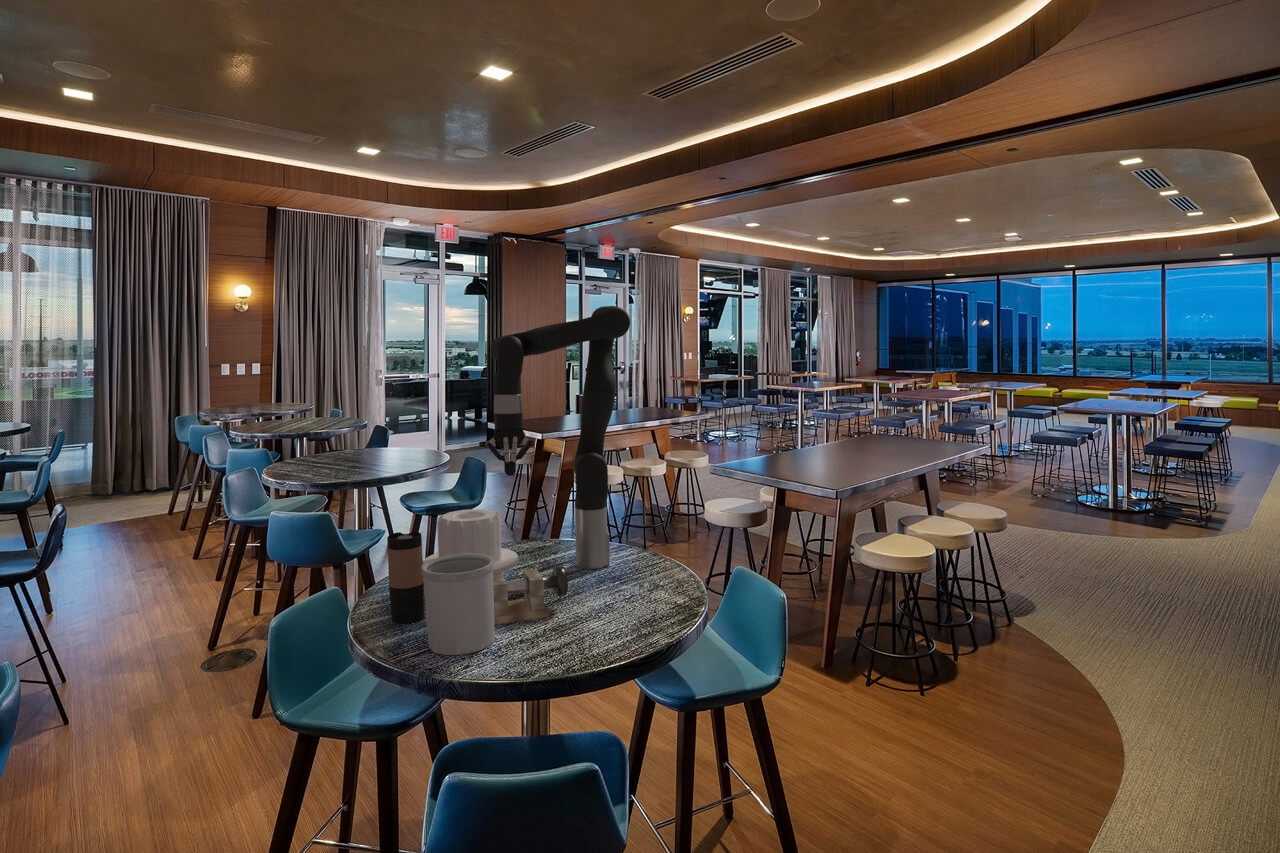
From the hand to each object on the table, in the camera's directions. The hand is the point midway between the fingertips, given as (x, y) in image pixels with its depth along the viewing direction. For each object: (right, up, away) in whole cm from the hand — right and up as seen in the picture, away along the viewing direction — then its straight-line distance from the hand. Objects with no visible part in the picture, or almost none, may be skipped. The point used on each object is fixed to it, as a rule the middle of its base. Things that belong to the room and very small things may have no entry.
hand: (510, 475), depth 184 cm
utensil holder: (-3, -33, -38) cm, 50 cm away
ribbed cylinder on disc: (-10, -30, 0) cm, 31 cm away
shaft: (+8, -28, -21) cm, 36 cm away
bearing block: (+5, -31, -22) cm, 38 cm away
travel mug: (-19, -32, -25) cm, 45 cm away
